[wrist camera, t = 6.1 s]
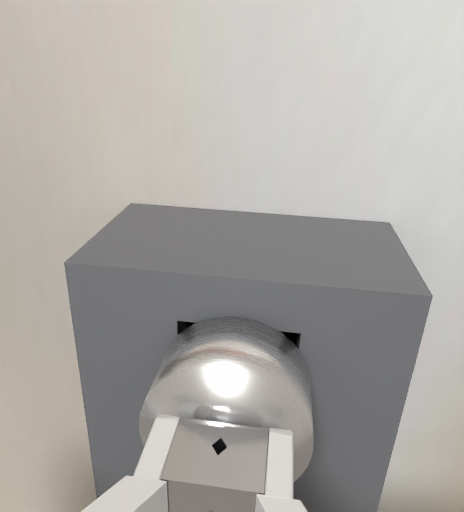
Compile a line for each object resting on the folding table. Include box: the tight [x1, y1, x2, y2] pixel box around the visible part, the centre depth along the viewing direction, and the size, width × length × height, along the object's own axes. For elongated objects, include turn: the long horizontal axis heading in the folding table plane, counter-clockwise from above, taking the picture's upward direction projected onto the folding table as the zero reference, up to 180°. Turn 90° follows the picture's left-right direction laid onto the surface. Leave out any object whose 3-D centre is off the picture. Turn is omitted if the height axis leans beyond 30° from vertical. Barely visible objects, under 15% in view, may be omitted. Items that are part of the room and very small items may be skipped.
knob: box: [139, 316, 314, 482], centre depth 12 cm, size 4×4×5 cm
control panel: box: [64, 204, 432, 512], centre depth 16 cm, size 17×9×5 cm, turn 178°
